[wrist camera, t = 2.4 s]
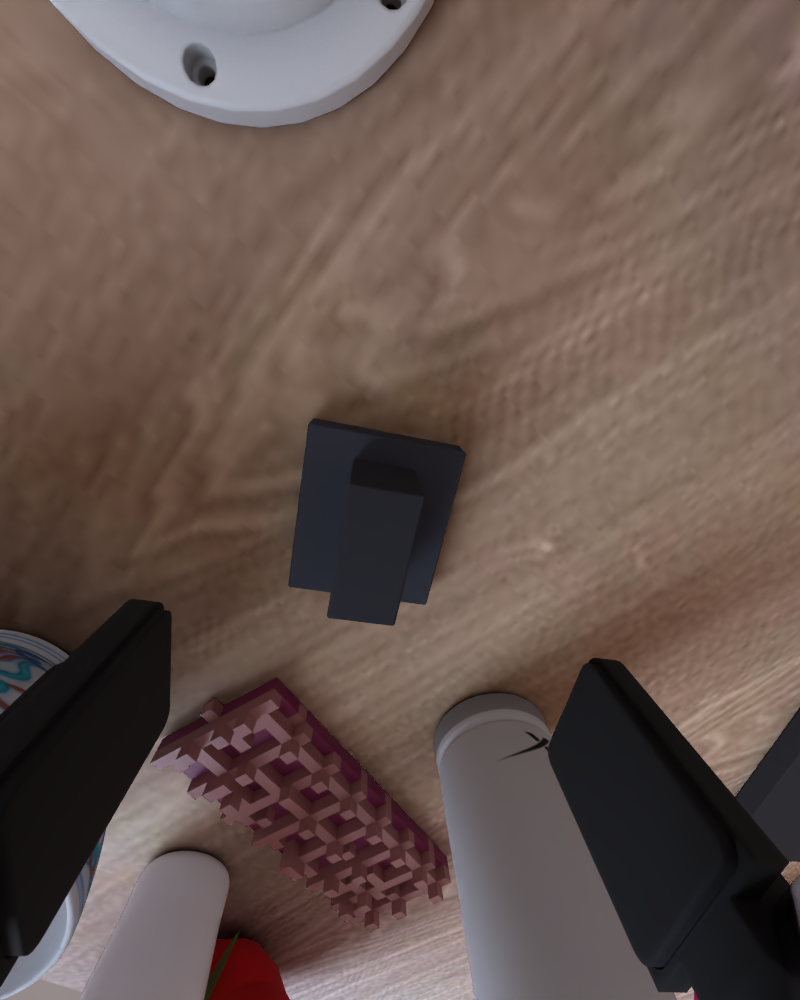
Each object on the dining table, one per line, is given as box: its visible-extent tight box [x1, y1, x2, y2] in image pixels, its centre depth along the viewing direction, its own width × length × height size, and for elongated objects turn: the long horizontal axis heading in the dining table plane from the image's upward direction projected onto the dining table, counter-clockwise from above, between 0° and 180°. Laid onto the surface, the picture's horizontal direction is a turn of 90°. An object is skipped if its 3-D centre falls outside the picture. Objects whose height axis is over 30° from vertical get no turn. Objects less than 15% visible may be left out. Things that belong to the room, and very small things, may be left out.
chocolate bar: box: [150, 678, 451, 932], centre depth 22 cm, size 7×19×2 cm, turn 30°
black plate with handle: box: [288, 419, 466, 626], centre depth 15 cm, size 7×6×4 cm
